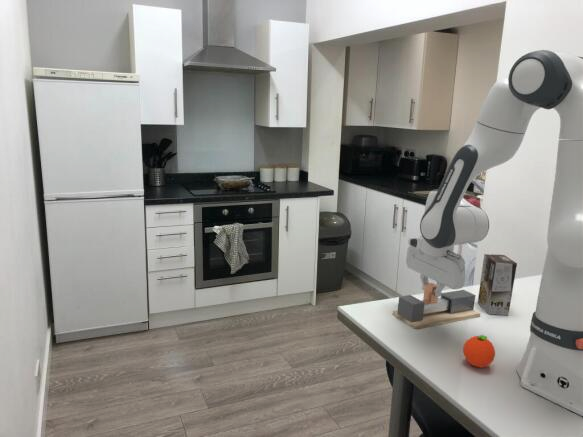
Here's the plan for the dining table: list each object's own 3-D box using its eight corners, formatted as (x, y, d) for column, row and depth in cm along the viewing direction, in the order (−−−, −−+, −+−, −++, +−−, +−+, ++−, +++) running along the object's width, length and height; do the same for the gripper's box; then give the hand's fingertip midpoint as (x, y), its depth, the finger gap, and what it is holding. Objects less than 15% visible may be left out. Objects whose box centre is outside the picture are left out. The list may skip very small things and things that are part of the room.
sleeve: (473, 309, 140) (475, 295, 139) (450, 313, 136) (452, 298, 135) (461, 303, 144) (463, 289, 143) (439, 307, 140) (441, 293, 139)
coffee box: (509, 315, 140) (518, 263, 136) (487, 314, 140) (495, 262, 137) (497, 303, 149) (504, 254, 145) (476, 302, 149) (483, 253, 145)
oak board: (480, 316, 138) (480, 313, 138) (415, 328, 128) (416, 325, 127) (454, 303, 147) (455, 300, 147) (392, 314, 136) (392, 311, 136)
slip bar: (460, 307, 139) (464, 282, 137) (420, 315, 132) (423, 288, 130) (453, 304, 141) (456, 279, 140) (413, 310, 135) (416, 284, 133)
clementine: (468, 353, 116) (472, 326, 114) (498, 363, 112) (502, 335, 110) (456, 365, 110) (460, 336, 108) (487, 376, 106) (492, 347, 104)
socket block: (422, 320, 131) (424, 302, 130) (411, 322, 129) (413, 304, 128) (408, 311, 136) (410, 294, 135) (397, 313, 134) (399, 296, 133)
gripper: (474, 255, 123) (467, 305, 126) (421, 236, 141) (416, 279, 144) (456, 257, 121) (449, 308, 124) (404, 237, 139) (399, 282, 142)
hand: (431, 292), depth 134 cm, fingers closed on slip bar, 3 cm apart
